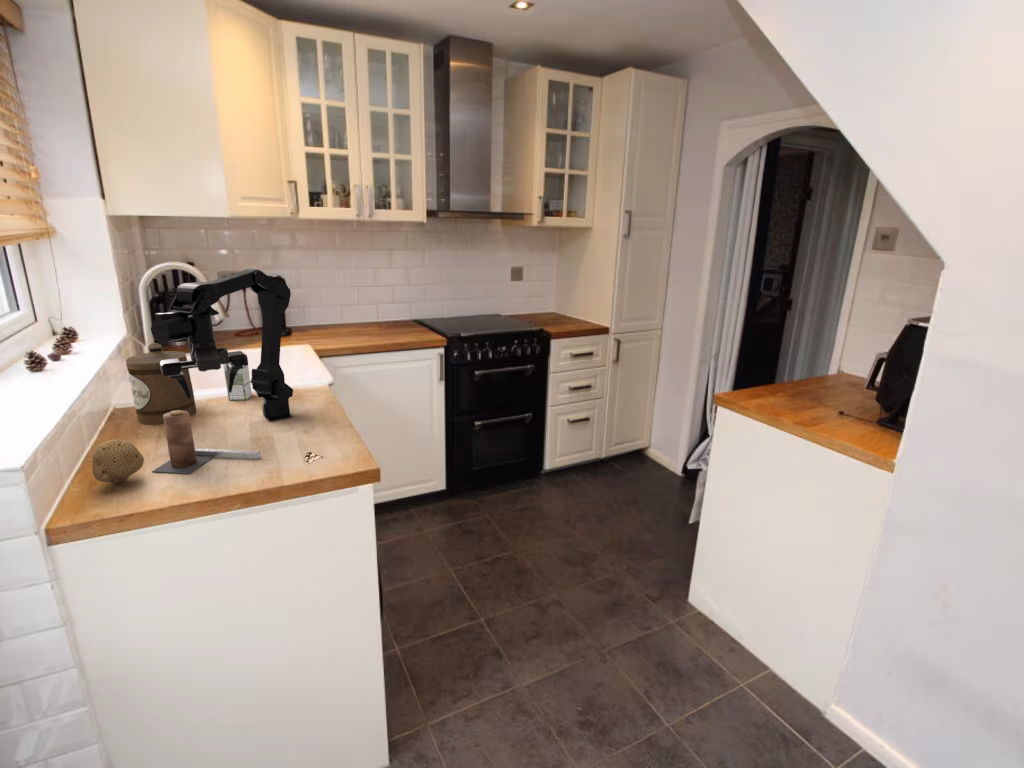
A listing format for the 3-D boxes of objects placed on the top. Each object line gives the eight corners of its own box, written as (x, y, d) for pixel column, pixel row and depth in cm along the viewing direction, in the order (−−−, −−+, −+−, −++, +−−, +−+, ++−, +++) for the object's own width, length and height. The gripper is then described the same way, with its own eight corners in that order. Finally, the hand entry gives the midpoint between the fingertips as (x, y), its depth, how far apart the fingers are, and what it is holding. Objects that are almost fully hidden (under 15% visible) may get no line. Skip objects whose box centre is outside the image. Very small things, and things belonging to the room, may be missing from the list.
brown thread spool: (194, 456, 131) (186, 406, 128) (198, 464, 127) (190, 412, 124) (169, 462, 128) (160, 410, 124) (173, 470, 124) (164, 417, 121)
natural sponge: (154, 471, 124) (146, 431, 121) (134, 490, 116) (125, 447, 113) (111, 473, 123) (102, 433, 120) (88, 492, 114) (77, 449, 112)
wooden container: (136, 414, 160) (121, 341, 154) (192, 404, 169) (181, 336, 162) (139, 429, 149) (123, 352, 142) (200, 418, 157) (188, 345, 151)
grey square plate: (213, 457, 132) (213, 456, 132) (189, 474, 123) (189, 473, 123) (178, 456, 132) (178, 454, 132) (152, 472, 124) (152, 471, 124)
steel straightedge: (261, 456, 133) (260, 451, 132) (257, 459, 131) (257, 453, 131) (191, 453, 134) (190, 447, 134) (187, 456, 133) (186, 450, 132)
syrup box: (252, 394, 179) (247, 352, 174) (246, 400, 173) (240, 356, 169) (234, 395, 178) (228, 352, 174) (227, 401, 172) (221, 357, 168)
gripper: (159, 346, 121) (171, 411, 125) (249, 336, 132) (257, 397, 136) (154, 337, 129) (165, 399, 134) (239, 329, 140) (247, 386, 145)
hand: (210, 395), depth 137 cm, fingers open, 9 cm apart
